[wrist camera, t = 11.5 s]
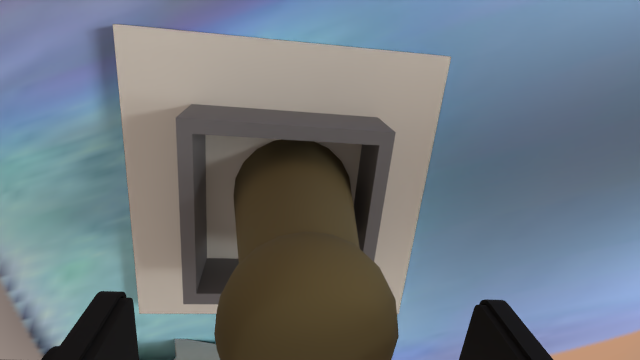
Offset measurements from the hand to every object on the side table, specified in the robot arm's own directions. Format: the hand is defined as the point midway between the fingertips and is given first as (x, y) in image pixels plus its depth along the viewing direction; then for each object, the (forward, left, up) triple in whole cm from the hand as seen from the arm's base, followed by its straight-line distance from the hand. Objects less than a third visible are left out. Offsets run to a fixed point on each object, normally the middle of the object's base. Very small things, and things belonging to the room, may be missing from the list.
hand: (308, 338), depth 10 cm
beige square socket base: (+1, 0, -11) cm, 11 cm away
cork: (0, 0, -10) cm, 10 cm away
